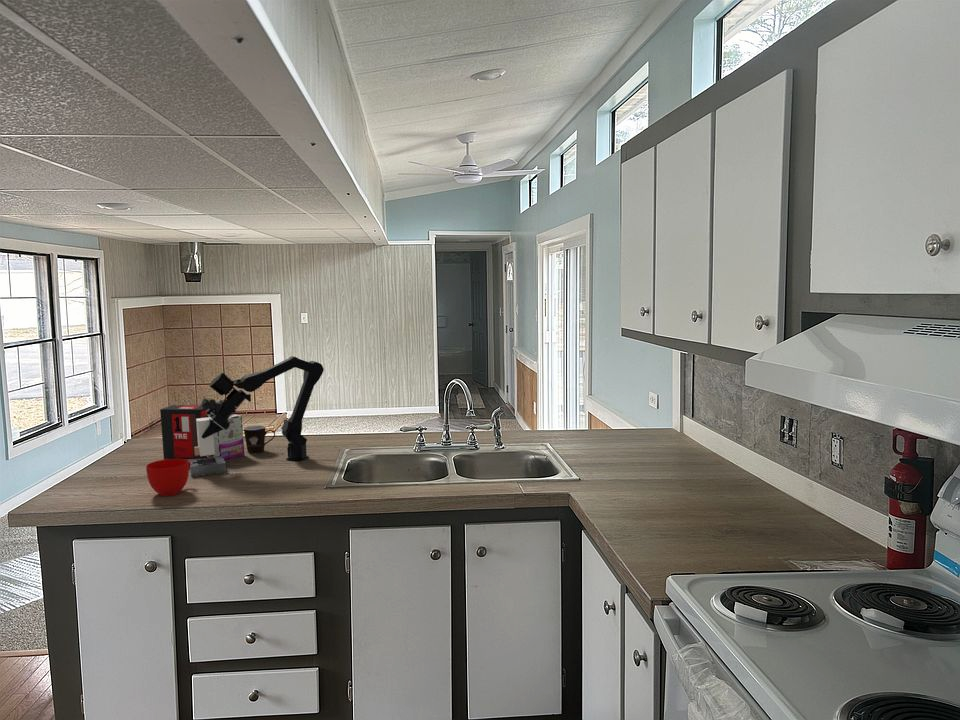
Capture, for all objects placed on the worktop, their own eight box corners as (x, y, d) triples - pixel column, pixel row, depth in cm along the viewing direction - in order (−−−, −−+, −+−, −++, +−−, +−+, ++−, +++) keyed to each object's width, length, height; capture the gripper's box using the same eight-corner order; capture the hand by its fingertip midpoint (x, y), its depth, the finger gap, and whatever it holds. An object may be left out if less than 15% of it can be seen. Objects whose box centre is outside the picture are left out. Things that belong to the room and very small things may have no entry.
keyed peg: (212, 451, 261) (210, 417, 259) (214, 454, 256) (212, 419, 254) (194, 453, 258) (191, 419, 256) (195, 456, 253) (193, 421, 251)
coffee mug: (240, 453, 284) (239, 429, 283) (253, 448, 292) (251, 425, 291) (265, 455, 280) (263, 430, 279) (277, 450, 289) (276, 426, 287)
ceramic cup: (206, 485, 241) (204, 456, 240) (172, 500, 225) (170, 470, 224) (174, 482, 245) (172, 454, 243) (139, 497, 228) (137, 467, 227)
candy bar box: (237, 453, 284) (235, 413, 282) (244, 455, 281) (242, 415, 279) (212, 459, 275) (210, 418, 273) (219, 461, 272) (217, 420, 270)
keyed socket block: (222, 464, 268) (222, 455, 267) (226, 472, 257) (225, 462, 256) (188, 468, 262) (188, 459, 262) (191, 476, 252) (190, 467, 251)
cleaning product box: (163, 459, 278) (160, 409, 275) (175, 453, 286) (172, 405, 284) (203, 459, 276) (200, 409, 273) (214, 453, 285) (211, 405, 282)
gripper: (209, 386, 264) (180, 418, 260) (217, 393, 248) (186, 427, 244) (232, 404, 269) (204, 436, 265) (242, 412, 253) (212, 446, 249)
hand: (201, 436), depth 256 cm, fingers closed on keyed peg, 5 cm apart
